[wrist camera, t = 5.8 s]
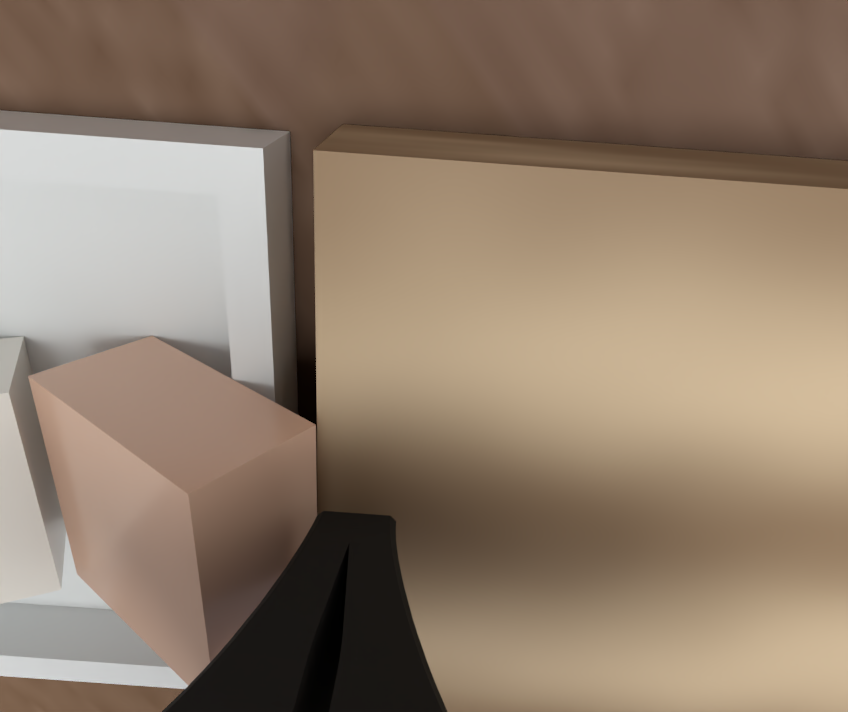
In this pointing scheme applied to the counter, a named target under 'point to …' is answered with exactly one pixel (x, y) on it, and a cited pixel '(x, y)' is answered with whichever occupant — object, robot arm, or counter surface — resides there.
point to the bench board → (593, 413)
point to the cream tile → (25, 487)
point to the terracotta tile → (175, 491)
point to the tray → (138, 304)
